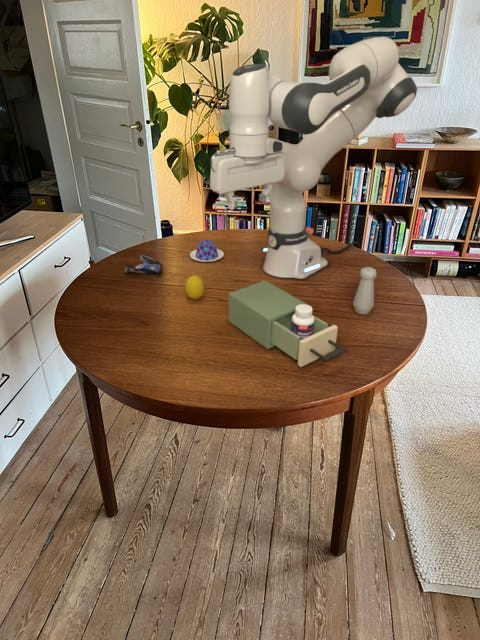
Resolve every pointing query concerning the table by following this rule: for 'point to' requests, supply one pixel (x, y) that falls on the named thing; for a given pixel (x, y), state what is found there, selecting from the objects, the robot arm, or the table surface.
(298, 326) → the pill bottle
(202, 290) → the lemon
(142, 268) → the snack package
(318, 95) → the robot arm
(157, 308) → the table surface
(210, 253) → the pudding
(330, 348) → the drawer
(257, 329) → the cabinet
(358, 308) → the salt shaker
